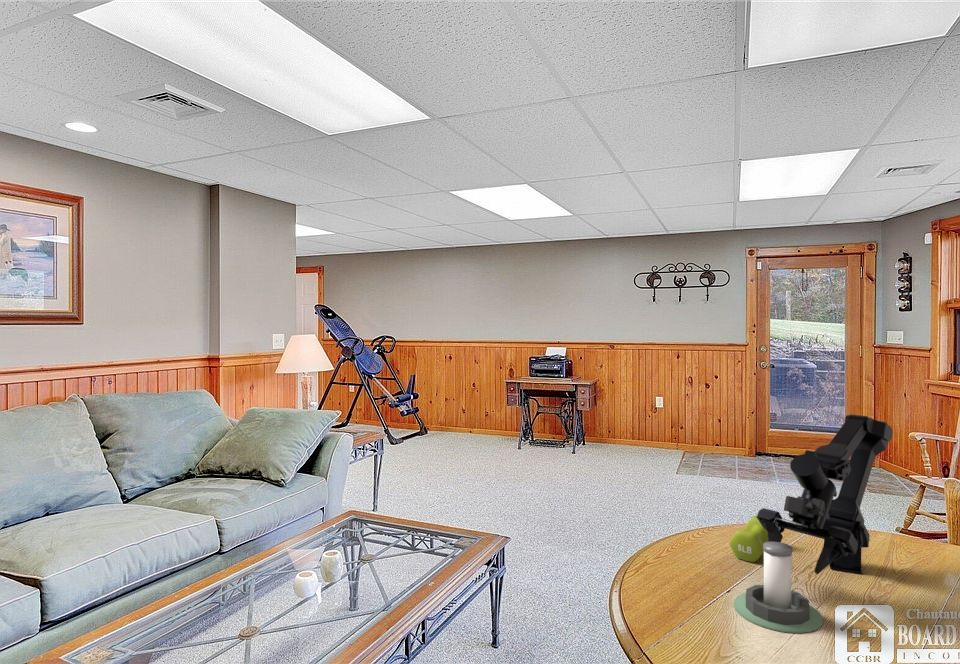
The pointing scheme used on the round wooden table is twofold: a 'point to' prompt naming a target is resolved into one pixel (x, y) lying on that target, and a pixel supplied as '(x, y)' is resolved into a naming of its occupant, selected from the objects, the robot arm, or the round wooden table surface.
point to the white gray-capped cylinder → (777, 574)
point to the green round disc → (778, 612)
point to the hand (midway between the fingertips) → (792, 565)
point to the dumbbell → (749, 541)
